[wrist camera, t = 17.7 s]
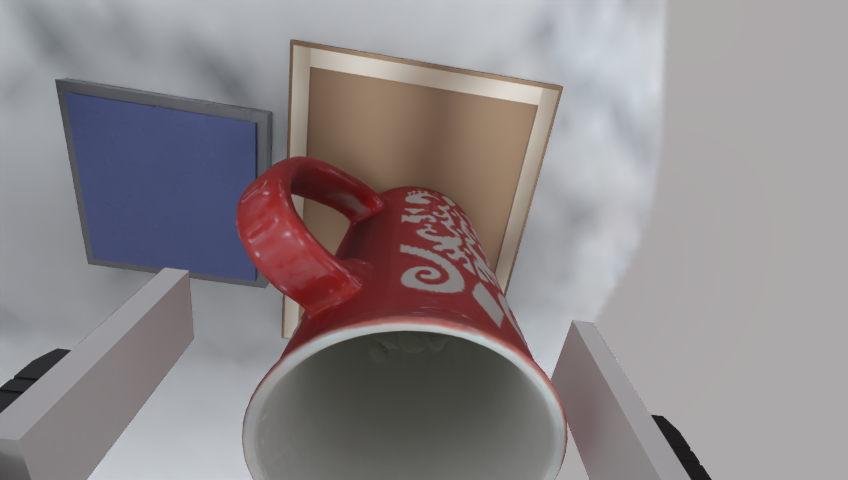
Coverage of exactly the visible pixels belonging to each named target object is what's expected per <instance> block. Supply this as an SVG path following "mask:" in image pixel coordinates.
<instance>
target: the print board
mask: <svg viewBox="0 0 848 480" xmlns="http://www.w3.org/2000/svg"><path fill="white" fill-rule="evenodd" d="M562 90H563V87H562V86H558V85H552V84H547V83H541V82H535V81H529V80H523V79H518V78H512V77H506V76H500V75H494V74H489V73H483V72H477V71H471V70H466V69H460V68H454V67H448V66H442V65H437V64H431V63H425V62H419V61H414V60H408V59H402V58H396V57H390V56H385V55H379V54H373V53H367V52H361V51H356V50H350V49H344V48H338V47H333V46H327V45H321V44H315V43H309V42H304V41H298V40H291V41H290V74H289V108H288V141H287V159H288V158H291V157H296V156H303V157H311V158H315V159H318V160H321V161H324V162H326V163H328V164H330V165H333V166H335V167H337V168H339V169H341V170H342V171H344V172H346V173H348V174H350V175H351V176H353V177H355V178H357V179H358V180H360V181H361V182H363V183H365V184H366V185H367V186H369V187H370V188H371V189H372V190H374V191H375V192H377V193H378V194H381V193H383V192H385V191H388V190H391V189H395V188H401V187H418V188H426V189H430V190H433V191H435V192H438V193H440V194H443V195H444V196H446V197H447V198H449V199H451V200H452V201H453V202H455V203H456V204H457V205H458V206H459V207H460V208H461V209H462V210H463V211H464V213H465V214H466V215H467V217H468V218H469V220H470V222H471V223H472V225H473V227H474V229H475V232H476V234H477V237H478V239H479V242H480V244H481V246H482V248H483V251H484V253H485V255H486V257H487V259H488V261H489V263H490V266H491V268H492V270H493V272H494V273H495V275H496V278H497V281H498V284H499V286H500V288H501V290H502V292H503V294H504V296H506V292H507V289H508V285H509V282H510V278H511V274H512V271H513V267H514V263H515V260H516V256H517V253H518V249H519V245H520V242H521V238H522V234H523V231H524V227H525V224H526V220H527V216H528V213H529V209H530V206H531V202H532V198H533V195H534V191H535V187H536V184H537V180H538V177H539V173H540V169H541V166H542V162H543V158H544V155H545V151H546V148H547V144H548V140H549V137H550V133H551V129H552V126H553V122H554V119H555V115H556V111H557V108H558V104H559V101H560V97H561V93H562ZM291 196H292V200H293V203H294V206H295V209H296V211H297V213H298V214H299V216H300V217H301V219H302V220H303V222H304V224H305V225H306V227H307V229H308V230H309V231H310V232H311V233H312V235H313V236H314V237H315V238H316V239H317V240H318V241H319V242H320V243H321V244H322V245H323V246H324V247H325V248H326V249H327V250H328V251H329V252H330V253H331V254H333V255H335V252H336V251H337V249H338V247H339V245H340V243H341V241H342V240H343V238H344V236H345V233H346V231H347V229H348V227H349V225H350V221H349V220H348V219H347V217H345V216H344V215H343V214H342V213H340V212H338V211H336V210H335V209H333V208H331V207H329V206H326V205H323V204H320V203H318V202H316V201H313V200H310V199H307V198H303V197H300V196H297V195H292V194H291ZM304 311H305V309H304V308H303V307H302V306H300V305H299V304H298V303H297V302H295V301H294V300H292V299H291V298H289V297H288V296H286V295H285V294H283V308H282V338H286V339H291V337H292V334H293V332H294V330H295V329H296V327H297V325H298V323H299V321H300V319H301V317H302V315H303V313H304Z"/></svg>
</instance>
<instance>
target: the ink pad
mask: <svg viewBox="0 0 848 480" xmlns="http://www.w3.org/2000/svg"><path fill="white" fill-rule="evenodd" d="M55 81H56V87H57V93H58V98H59V104H60V109H61V115H62V121H63V126H64V132H65V137H66V143H67V148H68V154H69V160H70V165H71V171H72V176H73V182H74V188H75V193H76V199H77V204H78V210H79V215H80V221H81V227H82V232H83V238H84V243H85V249H86V255H87V260H88V264H93V265H100V266H107V267H115V268H122V269H129V270H136V271H144V272H151V273H159V272H160V271H161V270H162V269H164V268H173V269H180V270H188V271H189V278H195V279H202V280H209V281H216V282H224V283H231V284H238V285H246V286H253V287H260V288H266V286H267V285H268V283H269V281H268V280H267V279H266V278H265V277H264V276H263V275H262V274H261V272H260V271H259V270H258V269H257V268H256V266H255V265H254V264H253V262H252V261H251V259H250V257H249V255H248V254H247V252H246V250H245V248H244V246H243V244H242V241H241V239H240V237H239V233H238V229H237V225H236V211H237V205H238V202H239V199H240V197H241V195H242V194H243V192H244V190H245V189H246V188H247V187H248V186H249V185H250V184H251V183H252V182H253V181H254V180H256V179H257V178H258V177H259V176H260V175H262V174H263V173H264V172H265V171H266V170H268V169H269V168H270V167H271V130H272V112H270V111H264V110H258V109H251V108H245V107H239V106H233V105H227V104H221V103H214V102H208V101H202V100H196V99H190V98H184V97H177V96H171V95H165V94H159V93H153V92H147V91H140V90H134V89H128V88H122V87H116V86H110V85H103V84H97V83H91V82H85V81H79V80H73V79H67V78H66V79H55Z"/></svg>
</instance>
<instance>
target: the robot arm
mask: <svg viewBox="0 0 848 480" xmlns="http://www.w3.org/2000/svg"><path fill="white" fill-rule="evenodd" d="M193 339H194V332H193V319H192V305H191V292H190V279H189V271H188V270H180V269H173V268H164V269H162V270H161V271H160V272H159V273H158V274H157V275H156V276H155V277H153V278H152V279H151V280H150V281H149V282H148V283H147V284H146V285H144V286H143V287H142V288H141V289H140V290H139V291H138V292H137V293H135V294H134V295H133V296H132V297H131V298H130V299H129V300H128V301H126V302H125V303H124V304H123V305H122V306H121V307H120V308H119V309H117V310H116V311H115V312H114V313H113V314H112V315H111V316H110V317H108V318H107V319H106V320H105V321H104V322H103V323H102V324H101V325H99V326H98V327H97V328H96V329H95V330H94V331H93V332H92V333H90V334H89V335H88V336H87V337H86V338H85V339H84V340H83V341H81V342H80V343H79V344H78V345H77V346H76V347H75V348H74V349H72V350H65V349H55V350H53V351H51V352H49V353H47V354H45V355H43V356H41V357H39V358H37V359H36V360H34V361H32V362H31V363H30V364H28V365H27V366H26V367H25V368H24V369H22V370H21V371H20V372H19V373H18V374H16V375H15V376H14V379H13V380H12V379H10V380H9V381H8V382H7V383H5V384H4V385H3V386H2V387H1V388H0V480H87V479H88V477H89V476H90V475H91V473H92V472H93V471H94V469H95V468H96V467H97V465H98V464H99V463H100V461H101V460H102V459H103V457H104V456H105V455H106V453H107V452H108V451H109V450H110V448H111V447H112V446H113V444H114V443H115V442H116V440H117V439H118V438H119V436H120V435H121V434H122V432H123V431H124V430H125V428H126V427H127V426H128V424H129V423H130V422H131V420H132V419H133V418H134V417H135V415H136V414H137V413H138V411H139V410H140V409H141V407H142V406H143V405H144V403H145V402H146V401H147V399H148V398H149V397H150V395H151V394H152V393H153V391H154V390H155V389H156V388H157V386H158V385H159V384H160V382H161V381H162V380H163V378H164V377H165V376H166V374H167V373H168V372H169V370H170V369H171V368H172V366H173V365H174V364H175V362H176V361H177V360H178V359H179V357H180V356H181V355H182V353H183V352H184V351H185V349H186V348H187V347H188V345H189V344H190V343H191V341H192V340H193ZM551 382H552V384H553V386H554V387H555V389H556V391H557V393H558V395H559V397H560V399H561V402H562V405H563V408H564V411H565V416H566V420H567V422H568V425H569V428H570V431H571V433H572V436H573V438H574V441H575V443H576V446H577V448H578V451H579V453H580V456H581V459H582V461H583V464H584V466H585V469H586V471H587V474H588V476H589V479H590V480H711V478H710V477H709V475H708V474H707V472H706V471H705V469H704V468H703V466H702V465H700V464H699V460H698V459H697V457H696V456H695V454H694V453H693V452H692V451H690V447H689V445H688V444H687V442H686V441H685V439H684V438H683V436H682V435H681V433H680V432H679V431H678V430H677V429H676V428H675V427H674V426H673V425H672V424H671V423H670V422H669V421H667V420H666V419H665V418H664V417H663V416H657V415H650V413H649V411H648V410H647V408H646V407H645V405H644V403H643V402H642V400H641V398H640V397H639V395H638V394H637V392H636V390H635V389H634V387H633V386H632V384H631V383H630V381H629V379H628V378H627V376H626V374H625V373H624V371H623V370H622V368H621V366H620V365H619V363H618V362H617V360H616V358H615V357H614V356H613V354H612V352H611V350H610V349H609V347H608V346H607V344H606V343H605V341H604V339H603V338H602V336H601V334H600V333H599V331H598V330H597V328H596V326H595V325H594V323H590V322H582V321H575V320H572V323H571V326H570V329H569V331H568V334H567V337H566V340H565V342H564V345H563V348H562V351H561V353H560V356H559V359H558V362H557V364H556V367H555V370H554V373H553V375H552V378H551Z"/></svg>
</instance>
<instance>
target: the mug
mask: <svg viewBox="0 0 848 480" xmlns="http://www.w3.org/2000/svg"><path fill="white" fill-rule="evenodd" d="M291 194H292V195H297V196H300V197H303V198H307V199H310V200H313V201H316V202H318V203H320V204H323V205H326V206H329V207H331V208H333V209H335V210H336V211H338V212H340V213H342V214H343V215H344V216H345V217H347V219H348V220H349V221H350V225H349V227H348V229H347V231H346V233H345V236H344V238H343V240H342V241H341V243H340V245H339V247H338V249H337V251H336V252H335V255H333V254H331V253H330V252H329V251H328V250H327V249H326V248H325V247H324V246H323V245H322V244H321V243H320V242H319V241H318V240H317V239H316V238H315V237H314V236H313V235H312V233H311V232H310V231H309V230H308V229H307V227H306V225H305V224H304V222H303V220H302V219H301V217H300V216H299V214H298V213H297V211H296V209H295V206H294V203H293V200H292V196H291ZM236 225H237V229H238V233H239V237H240V239H241V241H242V244H243V246H244V248H245V250H246V252H247V254H248V255H249V257H250V259H251V261H252V262H253V264H254V265H255V266H256V268H257V269H258V270H259V271H260V272H261V274H262V275H263V276H264V277H265V278H266V279H267V280H268V281H269V282H271V283H272V285H273V286H274V287H275V288H277V289H278V290H279V291H280V292H282V293H283V294H285V295H286V296H288V297H289V298H291V299H292V300H294V301H295V302H297V303H298V304H299V305H300V306H302V307H303V308H304V309H305V311H304V313H303V315H302V317H301V319H300V321H299V323H298V325H297V327H296V329H295V330H294V332H293V334H292V337H291V339H290V341H289V343H288V345H287V347H286V349H285V350H284V352H283V354H282V356H281V358H280V360H279V361H278V362H277V363H276V364H275V365H274V366H273V367H272V368H271V369H270V370H269V372H268V373H267V374H266V375H265V377H264V378H263V379H262V381H261V382H260V383H259V385H258V387H257V388H256V390H255V392H254V393H253V395H252V397H251V399H250V402H249V405H248V407H247V409H246V413H245V416H244V421H243V432H242V444H243V451H244V457H245V461H246V464H247V467H248V469H249V471H250V473H251V476H252V478H253V479H254V480H555V479H556V477H557V475H558V473H559V471H560V469H561V466H562V463H563V460H564V457H565V453H566V445H567V421H566V416H565V411H564V408H563V405H562V402H561V399H560V397H559V395H558V393H557V391H556V389H555V387H554V386H553V384H552V383H551V381H550V380H549V378H548V377H547V375H546V374H545V372H544V371H543V370H542V369H541V368H540V367H539V366H538V365H537V363H536V362H535V361H534V359H533V357H532V355H531V353H530V351H529V349H528V346H527V343H526V341H525V339H524V337H523V334H522V332H521V330H520V328H519V326H518V324H517V321H516V319H515V317H514V315H513V313H512V311H511V309H510V307H509V305H508V303H507V301H506V299H505V296H504V294H503V292H502V290H501V288H500V286H499V284H498V281H497V278H496V275H495V273H494V272H493V270H492V268H491V266H490V263H489V261H488V259H487V257H486V255H485V253H484V251H483V248H482V246H481V244H480V242H479V239H478V237H477V234H476V232H475V229H474V227H473V225H472V223H471V222H470V220H469V218H468V217H467V215H466V214H465V213H464V211H463V210H462V209H461V208H460V207H459V206H458V205H457V204H456V203H455V202H453V201H452V200H451V199H449V198H447V197H446V196H444V195H443V194H440V193H438V192H435V191H433V190H430V189H426V188H418V187H401V188H395V189H391V190H388V191H385V192H383V193H381V194H378V193H377V192H375V191H374V190H372V189H371V188H370V187H369V186H367V185H366V184H365V183H363V182H361V181H360V180H358V179H357V178H355V177H353V176H351V175H350V174H348V173H346V172H344V171H342V170H341V169H339V168H337V167H335V166H333V165H330V164H328V163H326V162H324V161H321V160H318V159H315V158H311V157H303V156H296V157H291V158H288V159H285V160H282V161H280V162H278V163H276V164H275V165H273V166H272V167H270V168H269V169H268V170H266V171H265V172H264V173H263V174H262V175H260V176H259V177H258V178H257V179H256V180H254V181H253V182H252V183H251V184H250V185H249V186H248V187H247V188H246V189H245V190H244V192H243V194H242V195H241V197H240V199H239V202H238V205H237V211H236Z"/></svg>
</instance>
